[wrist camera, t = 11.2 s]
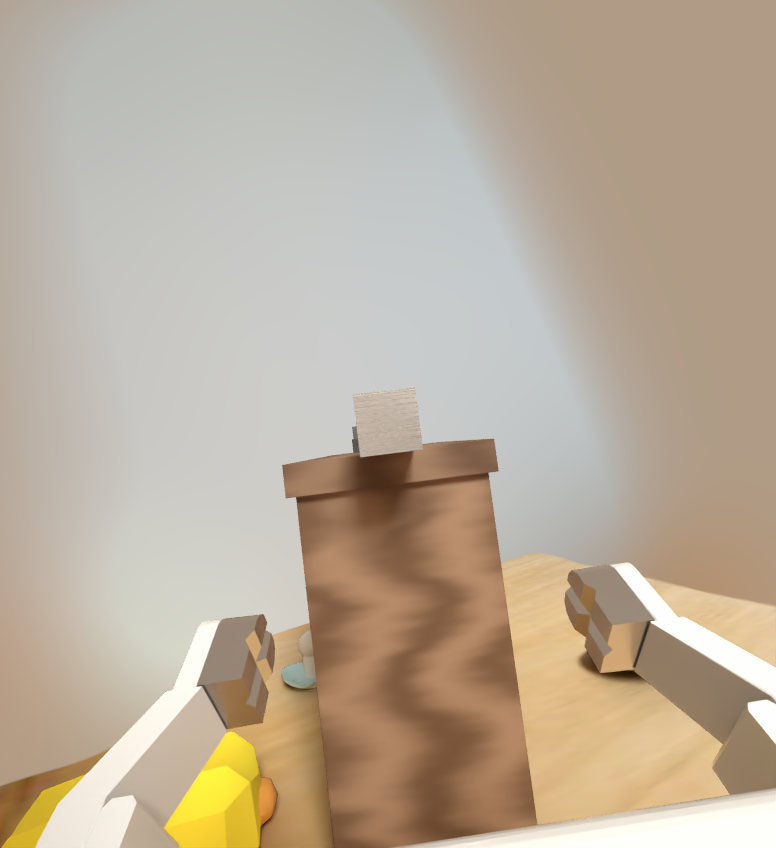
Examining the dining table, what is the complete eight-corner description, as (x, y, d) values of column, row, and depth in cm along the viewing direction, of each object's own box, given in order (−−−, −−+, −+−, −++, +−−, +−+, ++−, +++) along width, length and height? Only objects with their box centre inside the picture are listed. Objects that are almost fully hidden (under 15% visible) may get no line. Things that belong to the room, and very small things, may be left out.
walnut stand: (331, 923, 21) (277, 416, 23) (358, 673, 44) (329, 431, 46) (557, 888, 21) (487, 390, 23) (466, 659, 44) (434, 418, 46)
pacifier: (279, 678, 46) (285, 705, 40) (273, 625, 46) (279, 645, 41) (337, 657, 48) (350, 680, 43) (331, 608, 49) (343, 624, 44)
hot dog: (17, 872, 26) (-88, 1034, 19) (11, 773, 27) (-94, 894, 19) (280, 778, 31) (280, 876, 24) (272, 696, 32) (269, 768, 24)
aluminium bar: (360, 457, 18) (352, 394, 18) (372, 450, 43) (369, 424, 43) (422, 449, 18) (415, 387, 18) (398, 447, 43) (395, 421, 43)
